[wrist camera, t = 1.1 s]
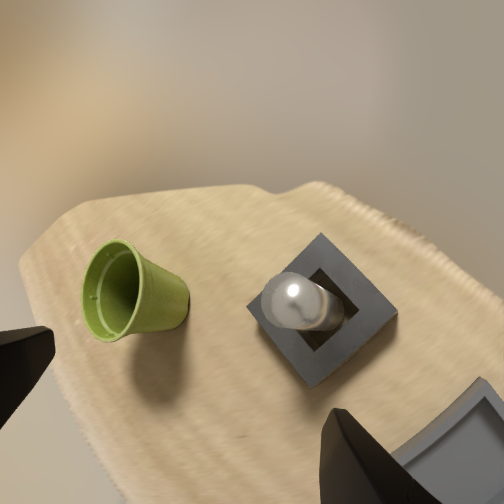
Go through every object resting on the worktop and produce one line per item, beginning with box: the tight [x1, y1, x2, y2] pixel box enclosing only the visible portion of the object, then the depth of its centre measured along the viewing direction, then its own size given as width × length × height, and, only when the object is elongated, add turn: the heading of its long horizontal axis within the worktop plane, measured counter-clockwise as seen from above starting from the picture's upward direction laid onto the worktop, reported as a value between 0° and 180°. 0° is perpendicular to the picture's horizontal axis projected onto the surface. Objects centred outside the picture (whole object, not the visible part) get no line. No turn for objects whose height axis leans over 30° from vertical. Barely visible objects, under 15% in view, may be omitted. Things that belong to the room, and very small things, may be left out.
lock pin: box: [261, 272, 344, 331], centre depth 21 cm, size 3×3×9 cm
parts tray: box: [390, 377, 504, 504], centre depth 15 cm, size 12×12×2 cm
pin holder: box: [246, 233, 398, 389], centre depth 24 cm, size 9×9×2 cm
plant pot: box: [81, 239, 189, 342], centre depth 29 cm, size 9×9×9 cm
